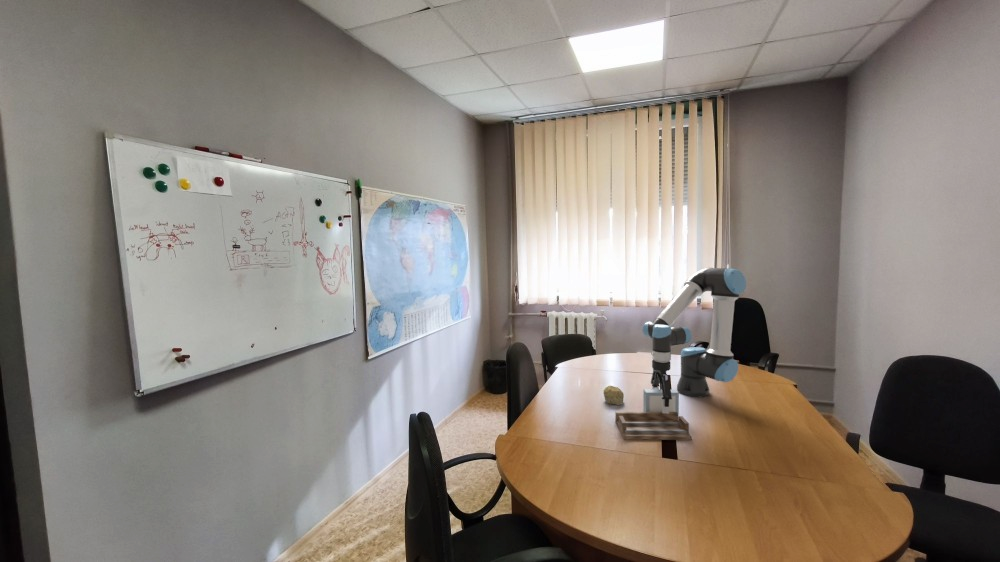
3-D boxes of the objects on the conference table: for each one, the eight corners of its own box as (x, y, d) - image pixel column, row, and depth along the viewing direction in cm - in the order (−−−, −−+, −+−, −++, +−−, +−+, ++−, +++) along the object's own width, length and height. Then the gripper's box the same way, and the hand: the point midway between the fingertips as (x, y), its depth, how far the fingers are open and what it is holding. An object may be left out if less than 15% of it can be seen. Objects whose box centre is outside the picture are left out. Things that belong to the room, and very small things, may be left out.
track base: (676, 421, 168) (676, 409, 168) (691, 440, 152) (691, 426, 152) (615, 421, 170) (615, 409, 170) (624, 439, 155) (624, 426, 154)
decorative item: (623, 408, 193) (620, 388, 198) (626, 403, 184) (623, 382, 189) (603, 408, 193) (601, 388, 199) (606, 403, 185) (603, 382, 190)
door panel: (675, 415, 175) (675, 389, 174) (678, 419, 171) (679, 392, 170) (643, 414, 176) (643, 389, 175) (646, 418, 172) (646, 392, 171)
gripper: (644, 352, 184) (643, 396, 186) (662, 368, 159) (661, 418, 161) (660, 352, 183) (659, 396, 185) (680, 368, 159) (679, 419, 160)
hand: (660, 406), depth 173 cm, fingers open, 13 cm apart
